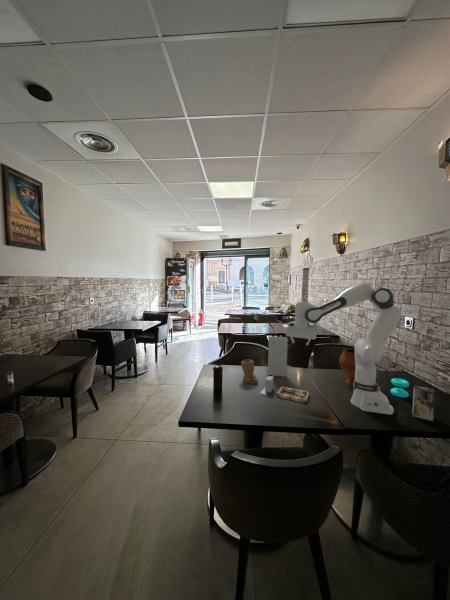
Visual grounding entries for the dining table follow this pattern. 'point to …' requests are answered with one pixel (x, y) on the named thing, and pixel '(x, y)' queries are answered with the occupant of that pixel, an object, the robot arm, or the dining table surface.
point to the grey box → (277, 356)
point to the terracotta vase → (348, 364)
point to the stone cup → (249, 371)
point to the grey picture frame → (423, 403)
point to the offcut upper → (299, 394)
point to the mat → (263, 392)
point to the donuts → (398, 391)
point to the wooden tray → (292, 396)
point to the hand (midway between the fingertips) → (300, 344)
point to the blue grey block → (269, 384)
